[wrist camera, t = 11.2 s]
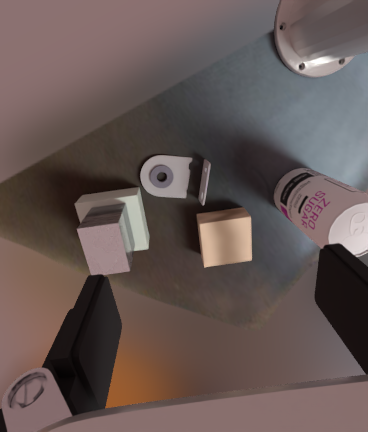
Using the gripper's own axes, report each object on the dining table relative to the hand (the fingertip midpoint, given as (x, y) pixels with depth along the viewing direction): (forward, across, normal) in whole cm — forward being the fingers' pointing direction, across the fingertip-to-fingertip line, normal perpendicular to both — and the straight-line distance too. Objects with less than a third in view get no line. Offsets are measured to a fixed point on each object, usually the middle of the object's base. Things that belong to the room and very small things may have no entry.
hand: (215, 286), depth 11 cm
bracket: (+31, +2, +4) cm, 32 cm away
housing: (+26, +12, +9) cm, 30 cm away
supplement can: (+31, -18, +9) cm, 37 cm away
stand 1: (+30, +12, +9) cm, 34 cm away
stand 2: (+31, -5, +14) cm, 34 cm away
